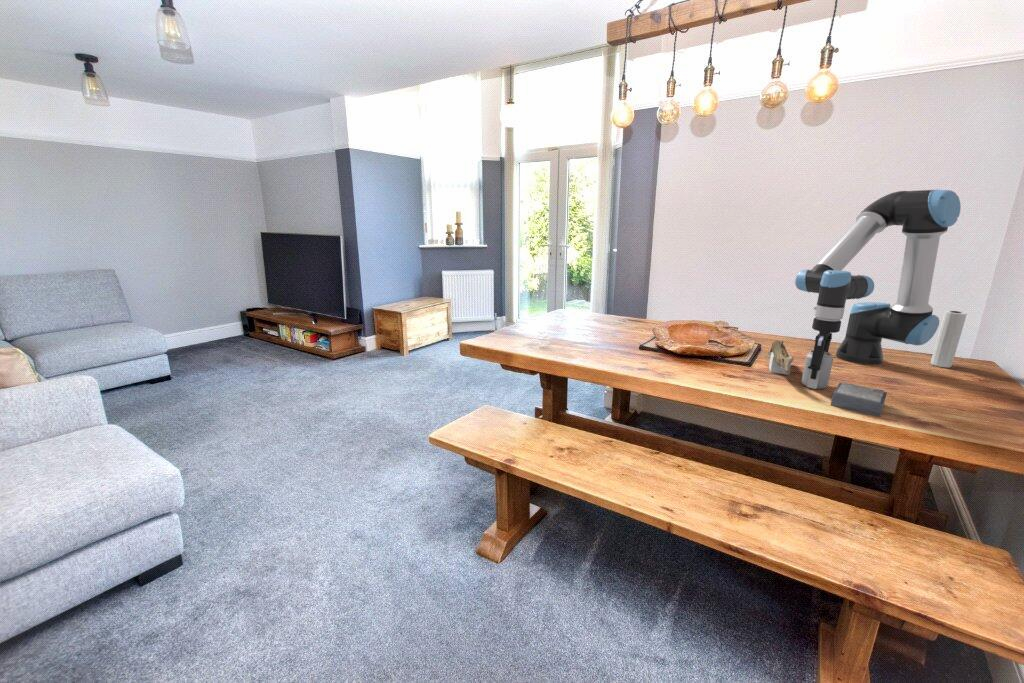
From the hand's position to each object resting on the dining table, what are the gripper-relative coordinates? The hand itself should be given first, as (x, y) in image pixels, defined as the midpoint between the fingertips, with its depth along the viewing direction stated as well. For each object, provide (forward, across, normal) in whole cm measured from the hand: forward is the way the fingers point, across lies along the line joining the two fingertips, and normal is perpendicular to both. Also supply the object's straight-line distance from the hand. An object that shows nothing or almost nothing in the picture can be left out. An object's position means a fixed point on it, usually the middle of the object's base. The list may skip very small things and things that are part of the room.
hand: (814, 384), depth 153 cm
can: (+1, 0, 0) cm, 1 cm away
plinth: (+1, +9, +13) cm, 16 cm away
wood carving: (+1, -7, -12) cm, 14 cm away
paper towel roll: (+1, -61, +32) cm, 69 cm away
